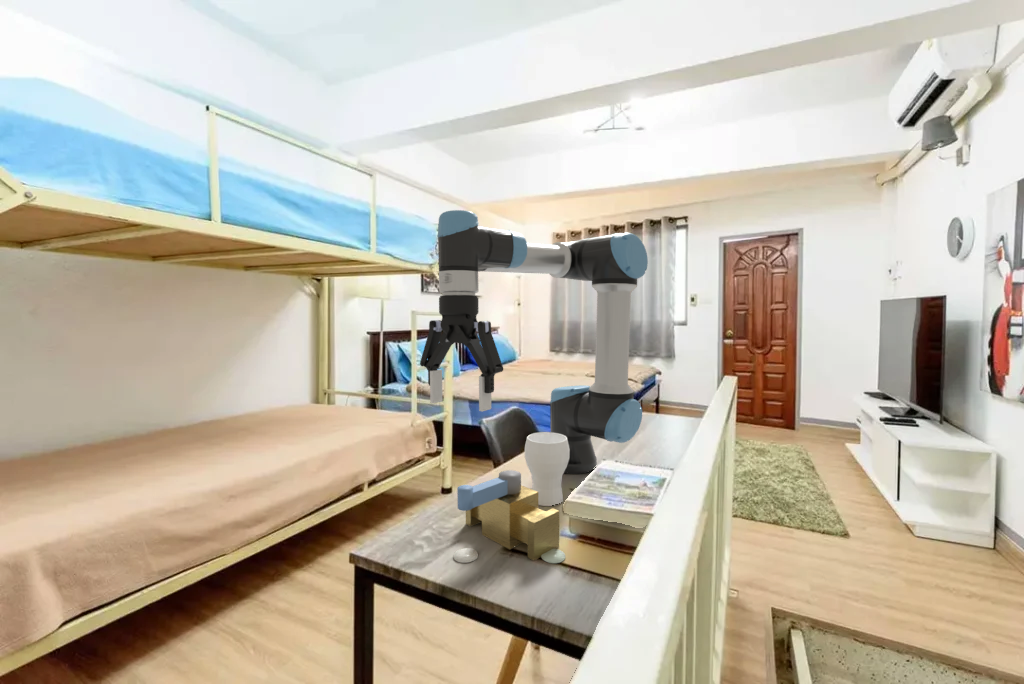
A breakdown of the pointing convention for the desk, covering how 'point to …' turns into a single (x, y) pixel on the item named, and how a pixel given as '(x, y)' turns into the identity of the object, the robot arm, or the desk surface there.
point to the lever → (489, 490)
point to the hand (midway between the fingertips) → (459, 406)
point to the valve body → (518, 522)
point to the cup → (547, 465)
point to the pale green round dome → (553, 556)
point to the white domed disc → (465, 555)
